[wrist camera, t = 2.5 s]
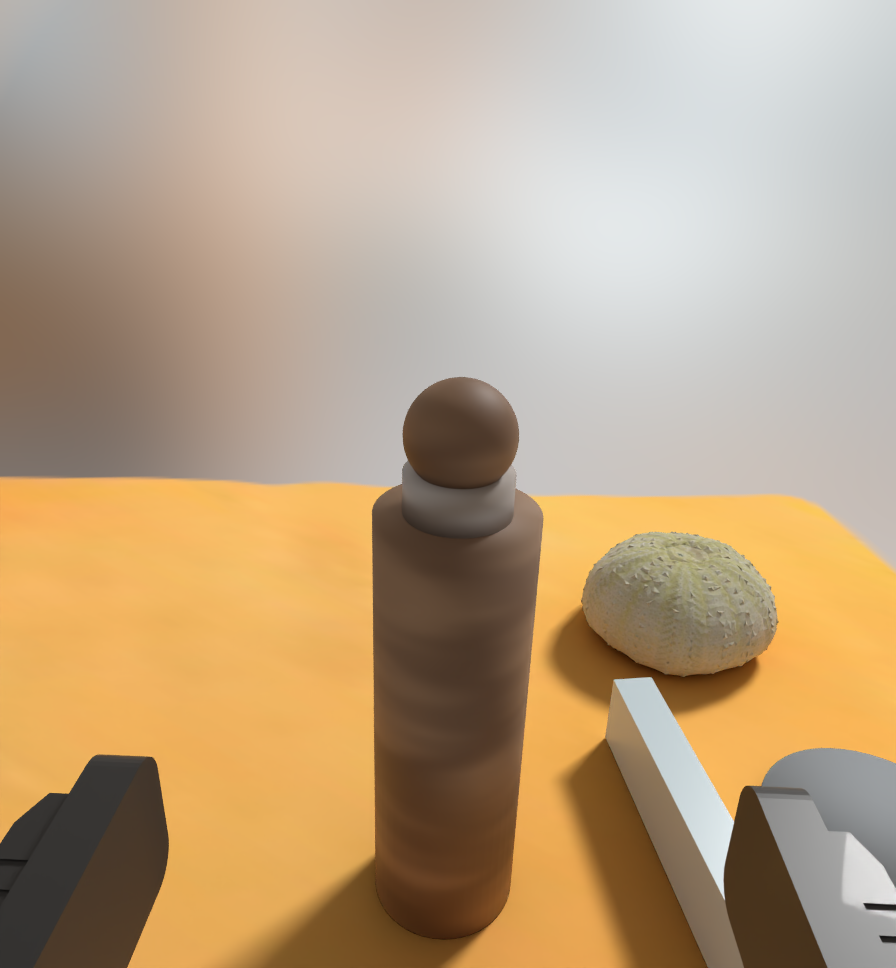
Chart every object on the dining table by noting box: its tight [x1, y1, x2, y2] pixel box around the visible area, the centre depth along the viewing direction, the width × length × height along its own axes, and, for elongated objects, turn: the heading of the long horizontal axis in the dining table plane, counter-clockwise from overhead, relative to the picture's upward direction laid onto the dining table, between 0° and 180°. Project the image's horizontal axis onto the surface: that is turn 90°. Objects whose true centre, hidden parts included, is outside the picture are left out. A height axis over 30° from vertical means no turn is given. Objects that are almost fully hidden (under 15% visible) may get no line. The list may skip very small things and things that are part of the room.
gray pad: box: [762, 748, 896, 889], centre depth 30 cm, size 8×8×1 cm
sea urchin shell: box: [581, 532, 778, 677], centre depth 41 cm, size 9×8×8 cm
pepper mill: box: [372, 377, 543, 939], centre depth 24 cm, size 5×5×18 cm
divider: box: [605, 677, 744, 968], centre depth 28 cm, size 2×12×3 cm, turn 8°
